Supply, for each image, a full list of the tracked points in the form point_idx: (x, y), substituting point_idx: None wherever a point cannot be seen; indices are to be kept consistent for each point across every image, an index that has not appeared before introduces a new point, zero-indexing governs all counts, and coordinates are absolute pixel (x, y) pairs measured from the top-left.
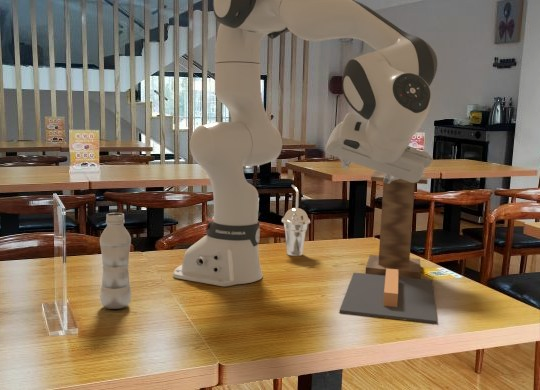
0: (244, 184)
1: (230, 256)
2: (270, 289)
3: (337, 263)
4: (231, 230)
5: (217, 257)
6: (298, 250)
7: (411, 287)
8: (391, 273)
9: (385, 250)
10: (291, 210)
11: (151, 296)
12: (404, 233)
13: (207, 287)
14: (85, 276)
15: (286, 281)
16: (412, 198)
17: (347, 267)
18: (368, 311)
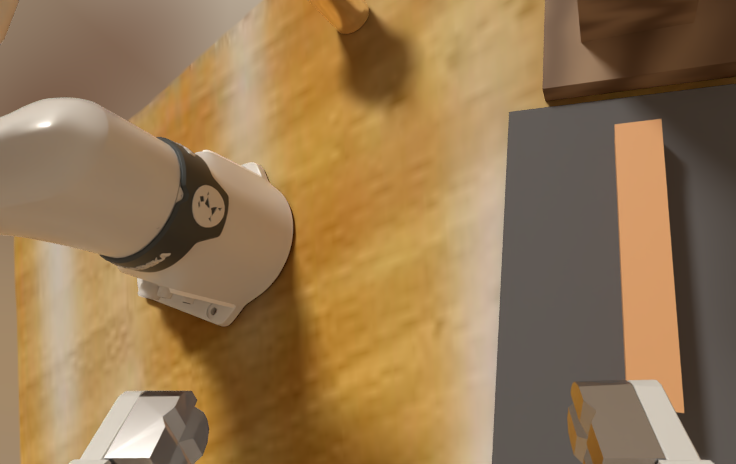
0: (11, 208)
1: (185, 296)
2: (315, 313)
3: (459, 37)
4: (132, 265)
5: (166, 296)
6: (354, 19)
7: (716, 188)
8: (638, 174)
9: (601, 4)
10: None
11: None
12: None
13: (199, 336)
14: (32, 329)
15: (346, 239)
16: None
17: (488, 58)
18: None
